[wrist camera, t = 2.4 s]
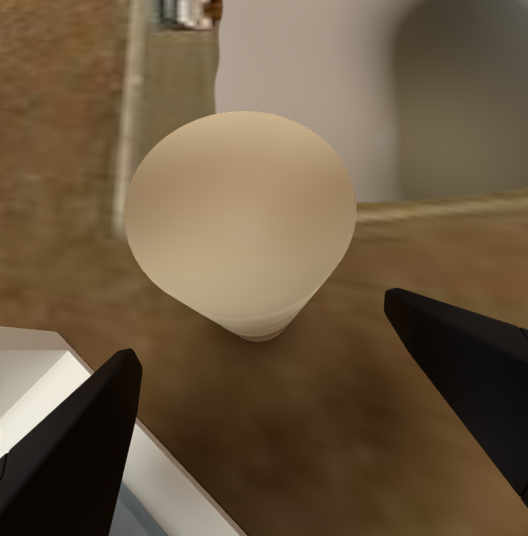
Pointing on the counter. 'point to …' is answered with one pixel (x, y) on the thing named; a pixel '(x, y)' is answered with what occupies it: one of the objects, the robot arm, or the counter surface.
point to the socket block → (132, 517)
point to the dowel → (241, 218)
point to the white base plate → (142, 443)
